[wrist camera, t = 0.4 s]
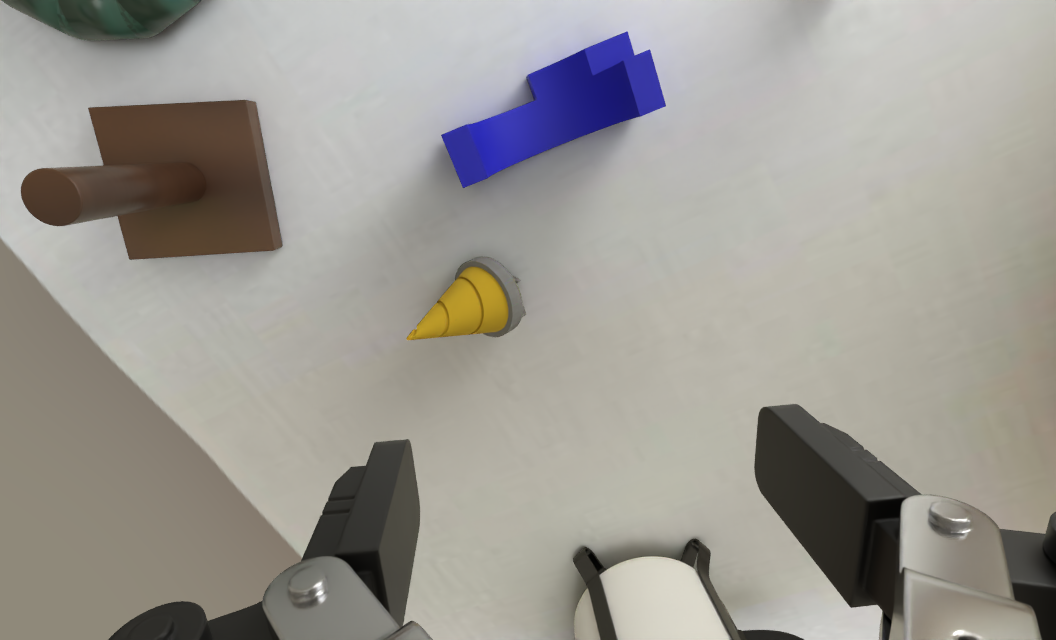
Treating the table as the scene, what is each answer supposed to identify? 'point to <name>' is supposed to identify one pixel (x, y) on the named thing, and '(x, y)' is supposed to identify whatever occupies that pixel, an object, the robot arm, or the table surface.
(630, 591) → the coffee press
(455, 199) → the table surface
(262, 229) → the stand
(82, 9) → the green ring
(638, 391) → the table surface
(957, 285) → the table surface
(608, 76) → the cable clip
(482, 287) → the yellow cone
